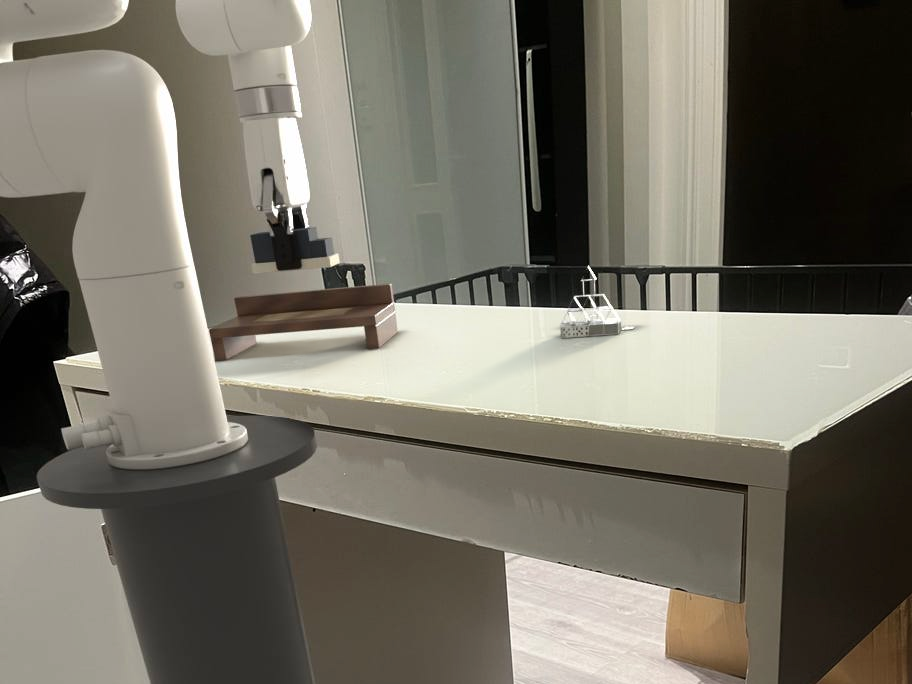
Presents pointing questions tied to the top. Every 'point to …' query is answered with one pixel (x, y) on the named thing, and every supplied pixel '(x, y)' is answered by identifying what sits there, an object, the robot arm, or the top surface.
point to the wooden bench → (307, 316)
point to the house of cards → (591, 326)
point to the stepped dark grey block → (310, 248)
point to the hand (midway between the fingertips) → (295, 265)
